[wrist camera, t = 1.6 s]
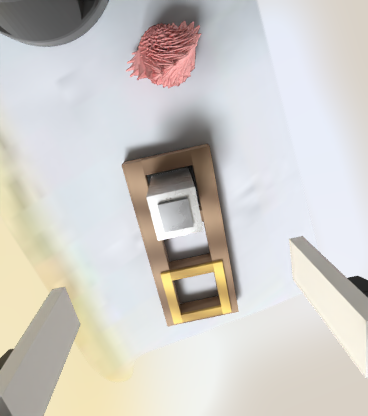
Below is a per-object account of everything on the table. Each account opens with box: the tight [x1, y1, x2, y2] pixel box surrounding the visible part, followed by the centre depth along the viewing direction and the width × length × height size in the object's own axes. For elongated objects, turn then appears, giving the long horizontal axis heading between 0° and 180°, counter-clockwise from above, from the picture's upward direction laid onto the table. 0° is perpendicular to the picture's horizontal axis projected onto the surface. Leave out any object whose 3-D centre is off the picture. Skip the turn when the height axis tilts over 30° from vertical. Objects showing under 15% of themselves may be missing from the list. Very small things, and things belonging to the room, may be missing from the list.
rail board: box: [122, 144, 239, 326], centre depth 36 cm, size 23×10×2 cm, turn 12°
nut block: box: [146, 167, 204, 241], centre depth 31 cm, size 4×4×9 cm
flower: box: [126, 21, 201, 88], centre depth 28 cm, size 8×8×6 cm
